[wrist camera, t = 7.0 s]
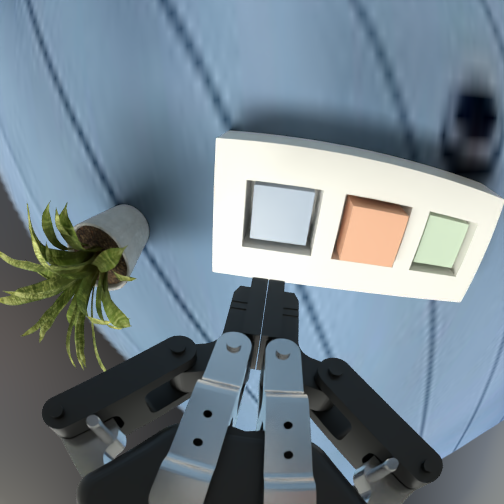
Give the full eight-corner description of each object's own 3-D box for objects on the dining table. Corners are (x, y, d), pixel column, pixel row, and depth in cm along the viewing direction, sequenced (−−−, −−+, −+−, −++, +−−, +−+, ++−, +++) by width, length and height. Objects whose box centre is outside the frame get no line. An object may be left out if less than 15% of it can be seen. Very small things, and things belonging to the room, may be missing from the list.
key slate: (253, 224, 25) (249, 237, 23) (258, 175, 23) (254, 184, 20) (304, 231, 24) (305, 245, 22) (313, 183, 22) (315, 192, 20)
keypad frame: (223, 246, 28) (212, 271, 24) (228, 130, 22) (216, 138, 18) (445, 277, 26) (460, 302, 22) (481, 183, 20) (504, 199, 17)
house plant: (232, 229, 27) (171, 380, 13) (163, 305, 33) (104, 421, 19) (116, 136, 23) (-28, 207, 9) (72, 233, 30) (-18, 321, 16)
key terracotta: (335, 244, 23) (339, 260, 21) (347, 194, 21) (353, 205, 19) (384, 251, 23) (391, 267, 21) (398, 204, 20) (408, 216, 18)
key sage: (405, 247, 24) (413, 261, 22) (419, 203, 21) (430, 215, 19) (441, 254, 23) (451, 267, 21) (457, 213, 21) (469, 224, 19)
